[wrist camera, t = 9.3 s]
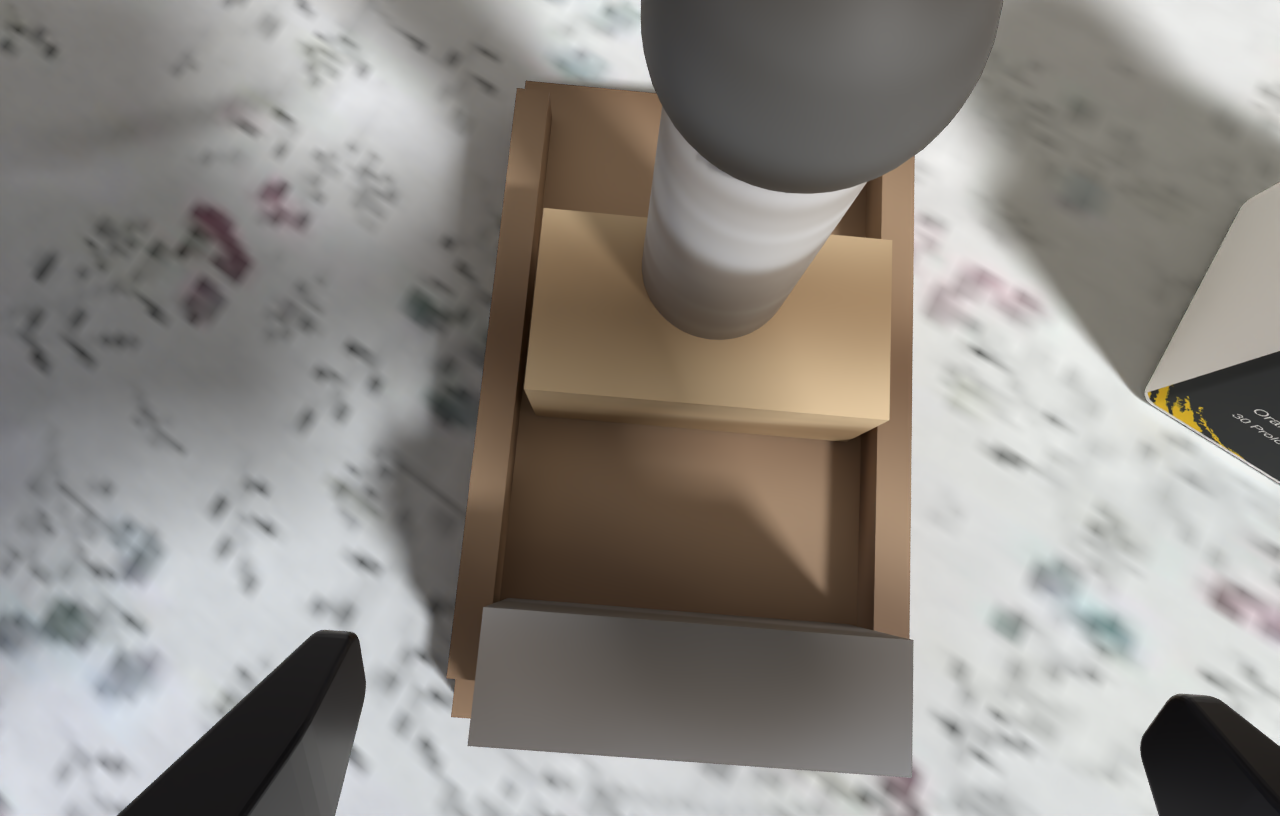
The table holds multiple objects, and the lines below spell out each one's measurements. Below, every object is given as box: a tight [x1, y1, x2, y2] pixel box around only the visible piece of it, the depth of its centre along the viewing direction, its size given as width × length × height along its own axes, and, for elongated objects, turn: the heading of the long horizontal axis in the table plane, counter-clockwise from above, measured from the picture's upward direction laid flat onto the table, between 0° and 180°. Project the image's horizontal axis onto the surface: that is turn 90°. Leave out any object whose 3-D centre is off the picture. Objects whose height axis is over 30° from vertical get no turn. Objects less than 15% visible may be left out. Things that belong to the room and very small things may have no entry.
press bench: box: [446, 81, 915, 778], centre depth 18 cm, size 16×10×6 cm, turn 176°
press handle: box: [524, 0, 1003, 442], centre depth 13 cm, size 5×8×13 cm, turn 86°
